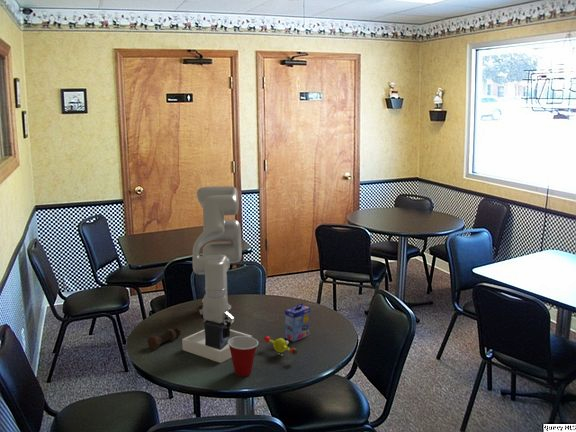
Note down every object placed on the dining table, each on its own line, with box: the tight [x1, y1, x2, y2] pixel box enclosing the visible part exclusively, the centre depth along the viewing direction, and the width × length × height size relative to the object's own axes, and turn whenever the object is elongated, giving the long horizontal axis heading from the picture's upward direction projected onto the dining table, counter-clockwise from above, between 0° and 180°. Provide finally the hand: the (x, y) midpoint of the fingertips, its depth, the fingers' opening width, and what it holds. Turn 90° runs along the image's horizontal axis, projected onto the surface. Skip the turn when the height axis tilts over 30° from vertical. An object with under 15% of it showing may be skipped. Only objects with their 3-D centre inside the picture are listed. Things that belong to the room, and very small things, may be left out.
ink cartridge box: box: [284, 302, 311, 342], centre depth 237 cm, size 10×6×14 cm, turn 137°
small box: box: [204, 320, 230, 350], centre depth 227 cm, size 11×6×10 cm, turn 164°
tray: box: [181, 328, 253, 364], centre depth 228 cm, size 20×18×4 cm
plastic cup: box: [228, 336, 259, 377], centre depth 206 cm, size 11×11×12 cm
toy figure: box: [263, 335, 298, 357], centre depth 220 cm, size 18×6×7 cm, turn 42°
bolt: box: [147, 328, 181, 350], centre depth 234 cm, size 6×5×15 cm
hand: (217, 334), depth 227 cm, fingers open, 9 cm apart
